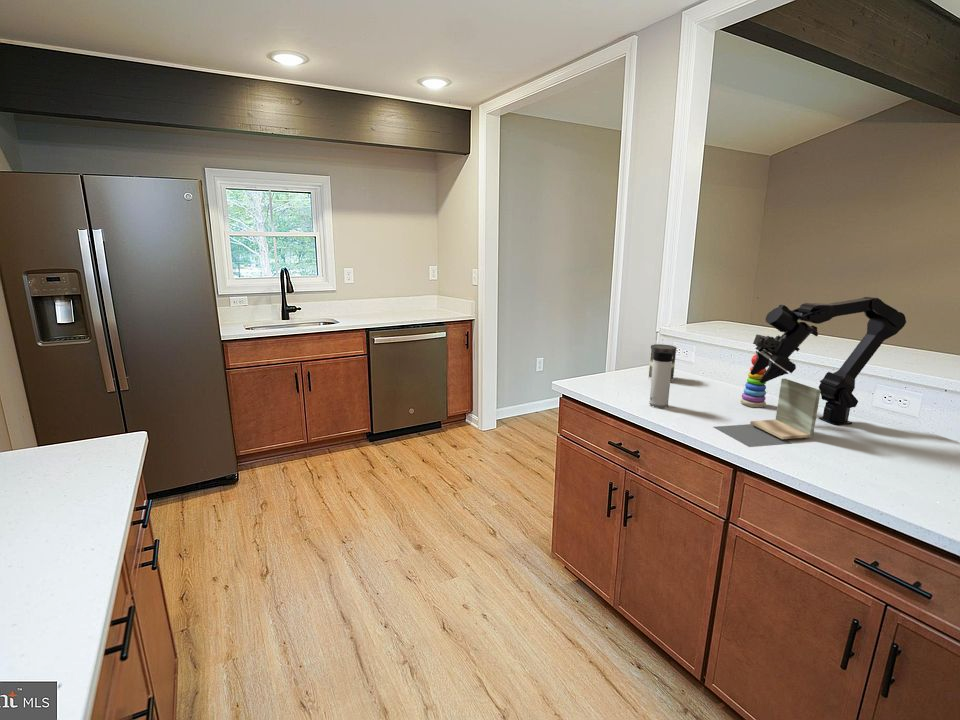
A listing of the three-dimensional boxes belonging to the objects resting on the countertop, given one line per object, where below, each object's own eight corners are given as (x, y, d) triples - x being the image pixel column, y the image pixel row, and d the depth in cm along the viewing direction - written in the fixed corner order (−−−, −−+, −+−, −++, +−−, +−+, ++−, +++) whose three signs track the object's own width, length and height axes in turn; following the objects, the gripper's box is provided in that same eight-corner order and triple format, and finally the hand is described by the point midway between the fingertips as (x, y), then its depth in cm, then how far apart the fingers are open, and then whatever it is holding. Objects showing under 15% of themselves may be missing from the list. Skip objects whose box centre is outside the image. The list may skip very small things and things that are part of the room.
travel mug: (648, 407, 172) (653, 351, 167) (649, 402, 178) (654, 348, 173) (667, 409, 169) (672, 353, 165) (668, 404, 175) (673, 349, 171)
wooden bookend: (778, 423, 155) (784, 378, 151) (812, 439, 142) (820, 390, 139) (749, 425, 153) (756, 380, 150) (782, 441, 140) (789, 392, 137)
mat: (751, 424, 155) (752, 424, 155) (792, 444, 139) (792, 443, 139) (712, 427, 152) (712, 426, 152) (749, 447, 137) (749, 446, 137)
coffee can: (675, 382, 204) (679, 349, 201) (650, 381, 206) (653, 348, 202) (670, 376, 214) (673, 344, 211) (646, 375, 216) (648, 343, 212)
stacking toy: (763, 409, 169) (771, 357, 165) (738, 405, 174) (744, 354, 170) (766, 404, 175) (774, 353, 171) (742, 400, 180) (748, 350, 176)
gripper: (759, 319, 161) (727, 357, 166) (780, 330, 143) (743, 372, 148) (788, 338, 160) (754, 375, 165) (812, 352, 142) (774, 392, 148)
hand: (755, 378), depth 156 cm, fingers open, 9 cm apart
